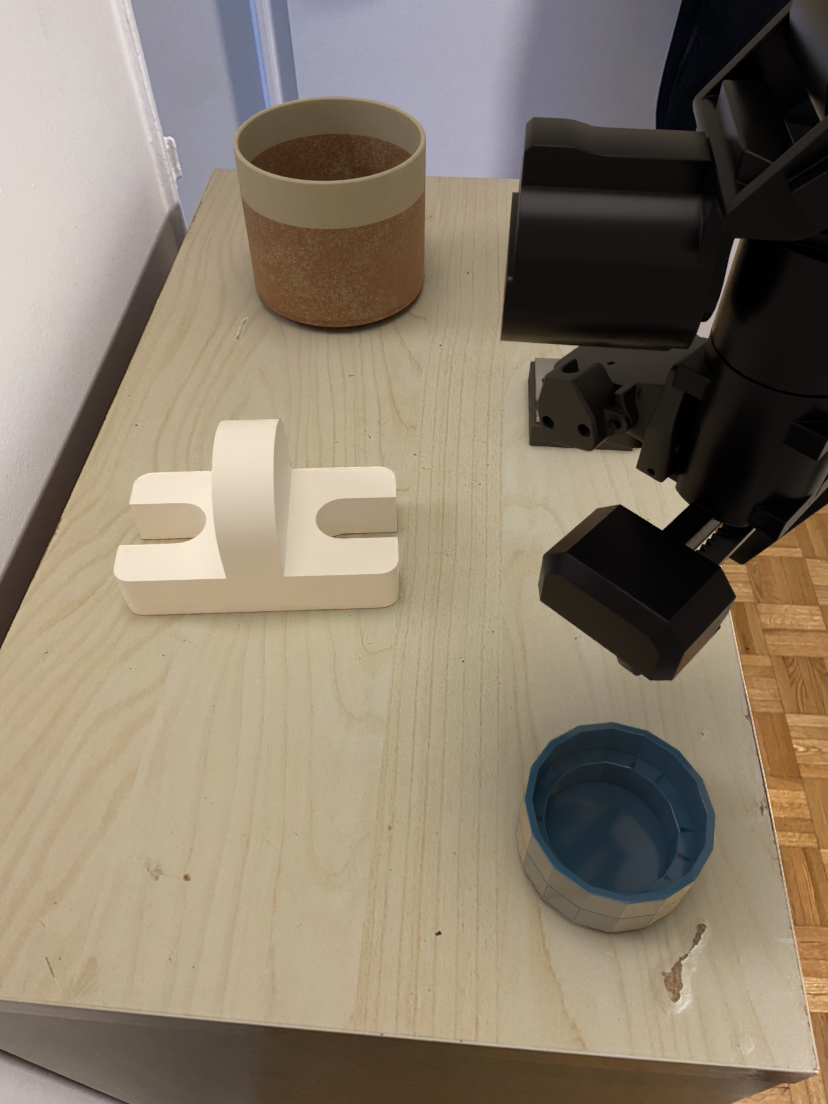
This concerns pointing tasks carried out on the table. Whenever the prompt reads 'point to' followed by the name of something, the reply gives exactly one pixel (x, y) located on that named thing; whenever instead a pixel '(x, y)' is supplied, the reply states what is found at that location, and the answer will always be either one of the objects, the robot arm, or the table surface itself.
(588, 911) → the bowl
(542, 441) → the scale
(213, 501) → the slotted base with upright
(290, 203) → the planter
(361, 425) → the table surface
